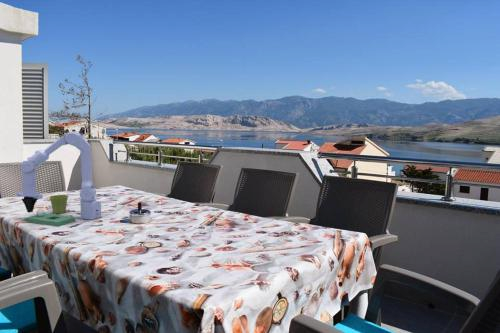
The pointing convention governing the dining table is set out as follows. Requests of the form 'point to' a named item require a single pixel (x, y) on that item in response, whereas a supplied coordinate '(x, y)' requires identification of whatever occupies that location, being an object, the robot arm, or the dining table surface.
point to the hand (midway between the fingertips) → (30, 212)
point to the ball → (40, 212)
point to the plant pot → (59, 203)
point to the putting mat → (50, 219)
